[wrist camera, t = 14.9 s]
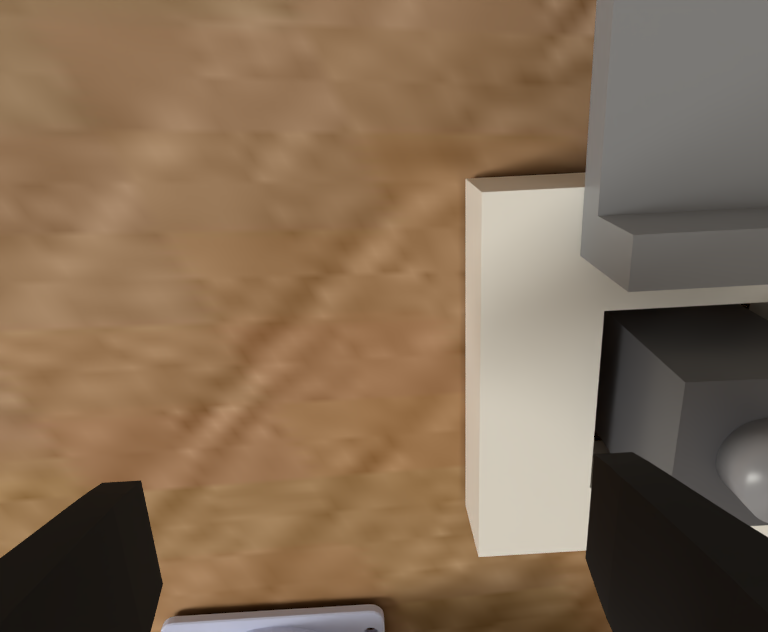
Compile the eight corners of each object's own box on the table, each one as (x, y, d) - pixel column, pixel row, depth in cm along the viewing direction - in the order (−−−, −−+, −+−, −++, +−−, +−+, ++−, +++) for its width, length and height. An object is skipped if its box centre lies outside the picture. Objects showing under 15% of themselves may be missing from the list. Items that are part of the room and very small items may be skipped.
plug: (708, 412, 20) (862, 556, 14) (587, 418, 20) (688, 566, 14) (726, 297, 19) (907, 399, 13) (597, 303, 19) (714, 408, 13)
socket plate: (812, 484, 21) (867, 533, 19) (465, 505, 21) (478, 557, 19) (885, 157, 18) (966, 167, 15) (465, 178, 17) (481, 192, 15)
